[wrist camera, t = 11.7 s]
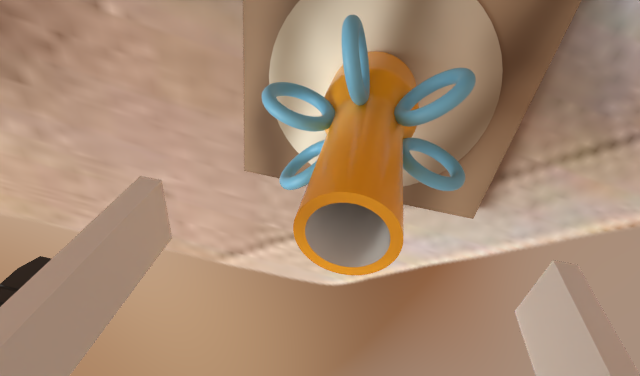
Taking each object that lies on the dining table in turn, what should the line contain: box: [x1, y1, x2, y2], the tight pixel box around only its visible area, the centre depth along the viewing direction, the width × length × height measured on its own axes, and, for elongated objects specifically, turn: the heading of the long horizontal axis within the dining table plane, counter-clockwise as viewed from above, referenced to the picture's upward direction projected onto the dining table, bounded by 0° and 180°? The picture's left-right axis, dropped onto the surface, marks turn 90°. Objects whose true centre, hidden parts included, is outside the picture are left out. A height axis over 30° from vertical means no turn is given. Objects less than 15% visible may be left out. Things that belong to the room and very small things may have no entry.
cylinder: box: [262, 15, 476, 275], centre depth 19 cm, size 12×10×15 cm
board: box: [243, 0, 582, 219], centre depth 20 cm, size 20×29×8 cm
